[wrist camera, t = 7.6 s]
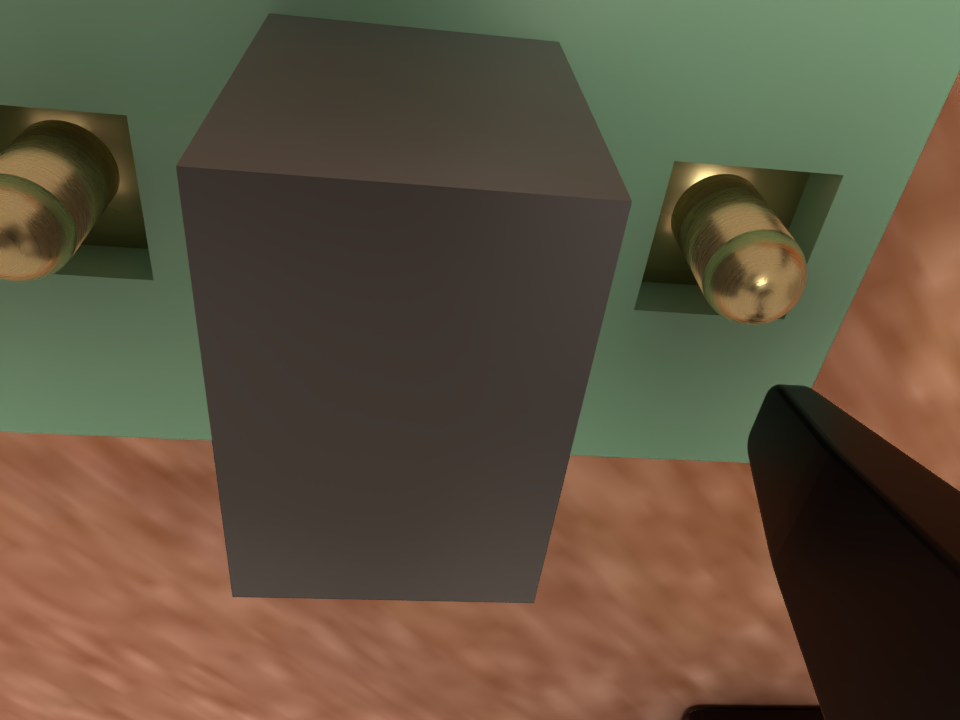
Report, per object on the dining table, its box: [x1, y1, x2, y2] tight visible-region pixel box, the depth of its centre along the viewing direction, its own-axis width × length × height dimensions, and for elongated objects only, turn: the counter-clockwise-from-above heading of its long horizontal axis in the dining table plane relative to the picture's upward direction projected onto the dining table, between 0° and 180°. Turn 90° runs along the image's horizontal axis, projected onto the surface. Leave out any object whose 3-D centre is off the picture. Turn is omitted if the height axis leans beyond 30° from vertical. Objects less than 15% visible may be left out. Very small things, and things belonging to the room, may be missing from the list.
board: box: [0, 0, 960, 603], centre depth 11 cm, size 16×10×6 cm, turn 84°
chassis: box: [0, 105, 811, 325], centre depth 14 cm, size 18×14×6 cm
